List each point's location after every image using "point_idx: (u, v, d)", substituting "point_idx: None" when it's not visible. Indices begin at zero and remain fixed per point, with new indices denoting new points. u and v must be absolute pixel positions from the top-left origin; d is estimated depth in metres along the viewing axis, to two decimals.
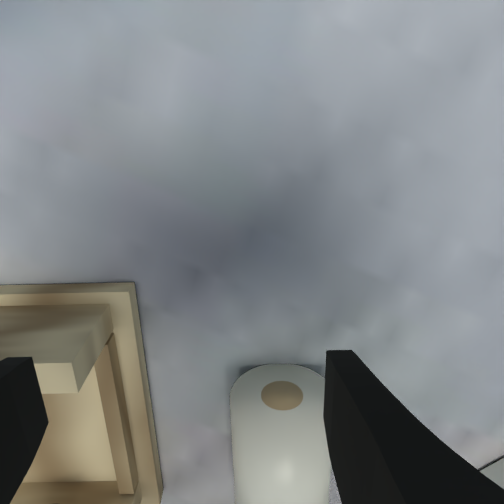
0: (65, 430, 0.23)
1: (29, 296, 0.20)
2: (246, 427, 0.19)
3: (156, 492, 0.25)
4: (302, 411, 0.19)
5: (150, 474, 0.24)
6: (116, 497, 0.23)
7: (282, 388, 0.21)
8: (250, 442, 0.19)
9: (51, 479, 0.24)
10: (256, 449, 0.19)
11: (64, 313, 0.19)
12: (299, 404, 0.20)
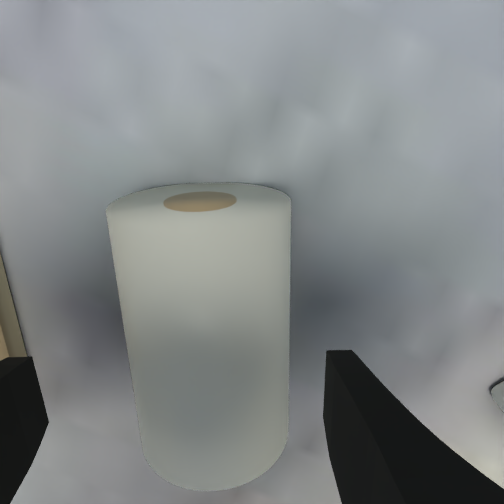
0: None
1: None
2: (131, 232, 0.10)
3: None
4: (236, 209, 0.11)
5: None
6: None
7: (200, 197, 0.12)
8: (142, 262, 0.10)
9: None
10: (153, 273, 0.10)
11: None
12: (230, 205, 0.11)
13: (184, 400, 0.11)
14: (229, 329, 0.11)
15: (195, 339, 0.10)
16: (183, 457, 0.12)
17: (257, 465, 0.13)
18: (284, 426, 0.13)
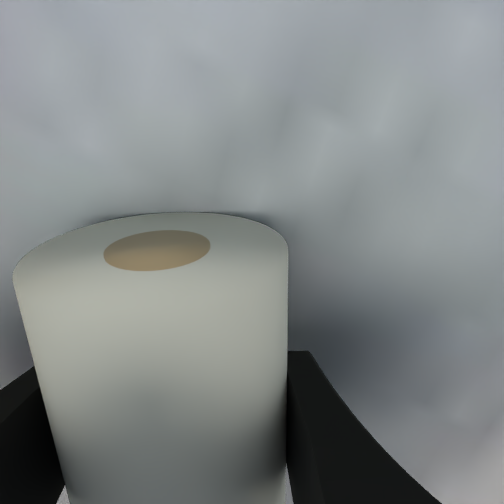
0: None
1: None
2: (25, 304, 0.07)
3: None
4: (195, 271, 0.07)
5: None
6: None
7: (166, 239, 0.09)
8: (40, 348, 0.07)
9: None
10: (54, 367, 0.07)
11: None
12: (192, 261, 0.08)
13: None
14: (168, 456, 0.07)
15: (118, 465, 0.07)
16: None
17: None
18: None
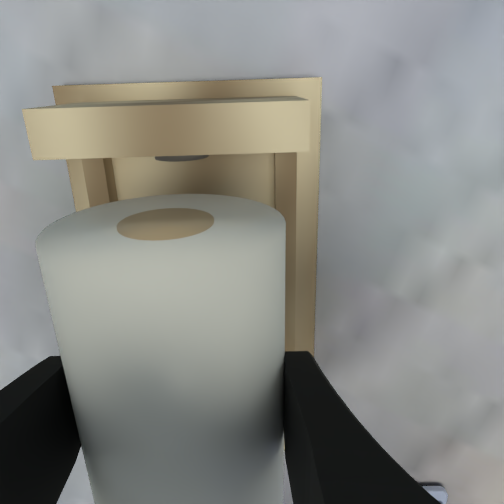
0: None
1: (197, 84, 0.16)
2: (41, 262, 0.08)
3: None
4: (191, 243, 0.08)
5: (307, 343, 0.20)
6: None
7: (176, 216, 0.09)
8: (53, 301, 0.08)
9: None
10: (63, 318, 0.08)
11: (247, 97, 0.15)
12: (192, 235, 0.08)
13: (109, 478, 0.09)
14: (156, 408, 0.08)
15: (113, 411, 0.08)
16: None
17: None
18: None
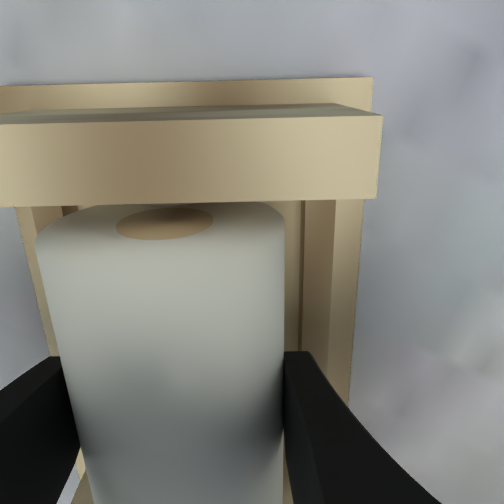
0: None
1: (194, 86, 0.11)
2: (40, 261, 0.08)
3: None
4: (190, 242, 0.08)
5: None
6: None
7: (175, 216, 0.09)
8: (51, 300, 0.08)
9: None
10: (61, 317, 0.08)
11: (267, 106, 0.10)
12: (191, 234, 0.08)
13: (108, 478, 0.09)
14: (155, 407, 0.08)
15: (112, 411, 0.08)
16: None
17: None
18: None
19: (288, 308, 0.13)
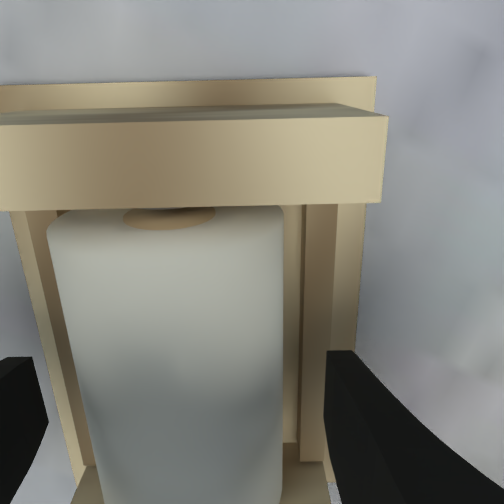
0: None
1: (192, 86, 0.11)
2: (52, 249, 0.08)
3: None
4: (194, 232, 0.08)
5: None
6: (295, 467, 0.14)
7: (179, 208, 0.10)
8: (63, 287, 0.08)
9: None
10: (72, 302, 0.08)
11: (267, 106, 0.10)
12: (195, 225, 0.09)
13: (116, 457, 0.09)
14: (161, 388, 0.08)
15: (120, 391, 0.08)
16: None
17: None
18: None
19: (289, 312, 0.13)
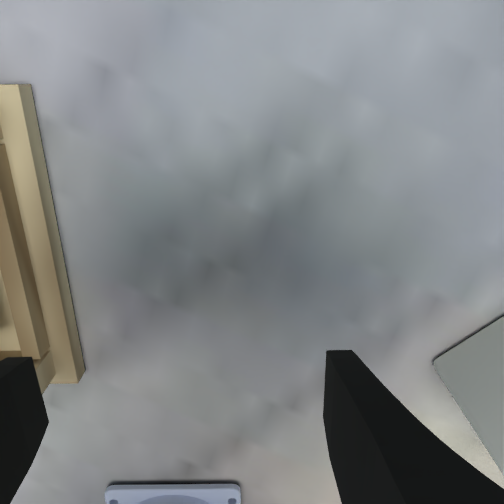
0: None
1: None
2: None
3: (72, 366, 0.21)
4: None
5: (63, 342, 0.20)
6: None
7: None
8: None
9: None
10: None
11: None
12: None
13: None
14: None
15: None
16: None
17: None
18: None
19: None
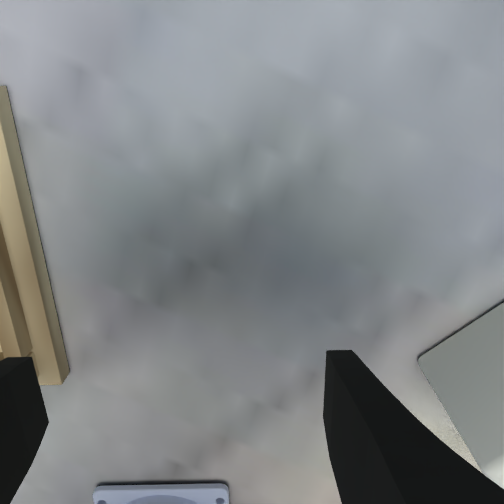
0: None
1: None
2: None
3: (56, 367, 0.21)
4: None
5: (46, 343, 0.20)
6: None
7: None
8: None
9: None
10: None
11: None
12: None
13: None
14: None
15: None
16: None
17: None
18: None
19: None
